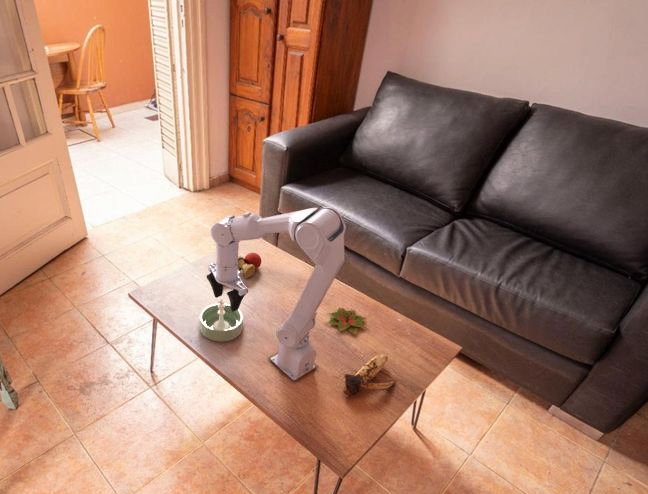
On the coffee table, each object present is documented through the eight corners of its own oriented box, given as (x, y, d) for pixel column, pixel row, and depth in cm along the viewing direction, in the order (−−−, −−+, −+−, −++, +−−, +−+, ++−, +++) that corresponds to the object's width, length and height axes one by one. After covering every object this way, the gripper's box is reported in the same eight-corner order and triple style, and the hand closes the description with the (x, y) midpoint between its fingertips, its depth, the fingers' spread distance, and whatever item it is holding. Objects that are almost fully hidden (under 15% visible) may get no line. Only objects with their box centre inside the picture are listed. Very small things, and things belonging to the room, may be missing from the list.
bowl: (250, 331, 124) (251, 319, 121) (216, 348, 119) (216, 337, 116) (225, 309, 132) (225, 298, 129) (192, 325, 126) (191, 313, 123)
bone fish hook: (365, 413, 103) (404, 374, 112) (370, 402, 100) (409, 362, 109) (334, 390, 108) (373, 354, 117) (338, 378, 105) (378, 343, 114)
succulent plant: (372, 319, 129) (376, 307, 126) (358, 341, 122) (361, 329, 119) (335, 304, 134) (338, 293, 131) (319, 325, 127) (322, 313, 124)
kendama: (229, 294, 140) (268, 267, 147) (225, 278, 136) (265, 252, 143) (214, 286, 145) (253, 261, 153) (210, 271, 141) (249, 246, 149)
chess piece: (227, 333, 123) (228, 306, 116) (211, 331, 123) (210, 304, 117) (231, 322, 126) (231, 296, 120) (215, 320, 127) (214, 293, 121)
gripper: (257, 269, 108) (254, 310, 116) (222, 245, 116) (222, 285, 125) (235, 278, 104) (233, 320, 113) (201, 253, 113) (202, 294, 122)
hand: (226, 302), depth 119 cm, fingers open, 7 cm apart
